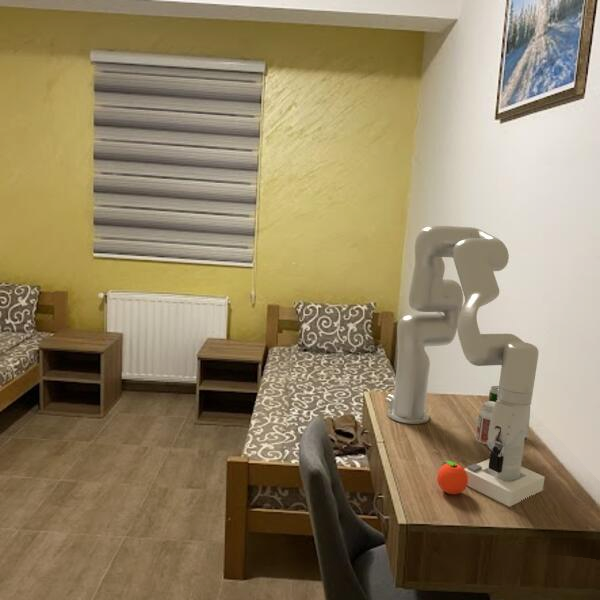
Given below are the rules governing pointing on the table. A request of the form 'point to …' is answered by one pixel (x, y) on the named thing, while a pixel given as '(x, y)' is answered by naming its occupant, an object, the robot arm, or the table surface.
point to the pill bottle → (484, 421)
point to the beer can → (493, 393)
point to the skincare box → (511, 460)
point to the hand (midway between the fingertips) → (504, 465)
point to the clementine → (452, 478)
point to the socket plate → (504, 484)
